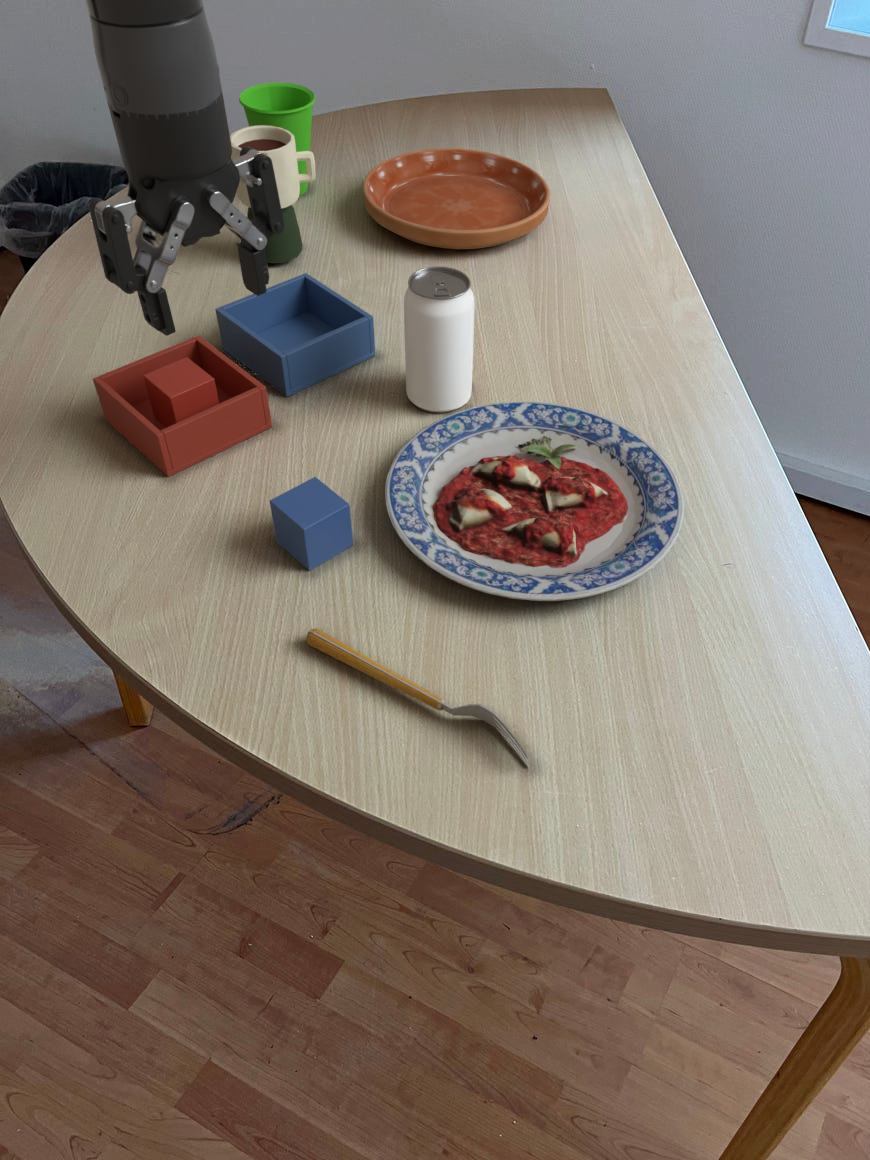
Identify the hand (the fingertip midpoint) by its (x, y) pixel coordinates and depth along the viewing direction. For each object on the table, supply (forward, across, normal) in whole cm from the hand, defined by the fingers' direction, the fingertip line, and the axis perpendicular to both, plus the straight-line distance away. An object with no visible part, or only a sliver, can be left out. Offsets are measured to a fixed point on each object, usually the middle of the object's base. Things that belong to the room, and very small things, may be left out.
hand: (211, 310), depth 76 cm
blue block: (+15, +2, +13) cm, 20 cm away
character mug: (+15, -25, -28) cm, 41 cm away
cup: (+15, -36, -41) cm, 57 cm away
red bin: (+15, 0, -8) cm, 17 cm away
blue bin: (+15, -14, -11) cm, 24 cm away
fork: (+16, +7, +31) cm, 35 cm away
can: (+16, -20, +4) cm, 26 cm away
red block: (+14, 0, -8) cm, 16 cm away
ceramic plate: (+16, -15, +22) cm, 31 cm away
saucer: (+16, -48, -22) cm, 55 cm away
